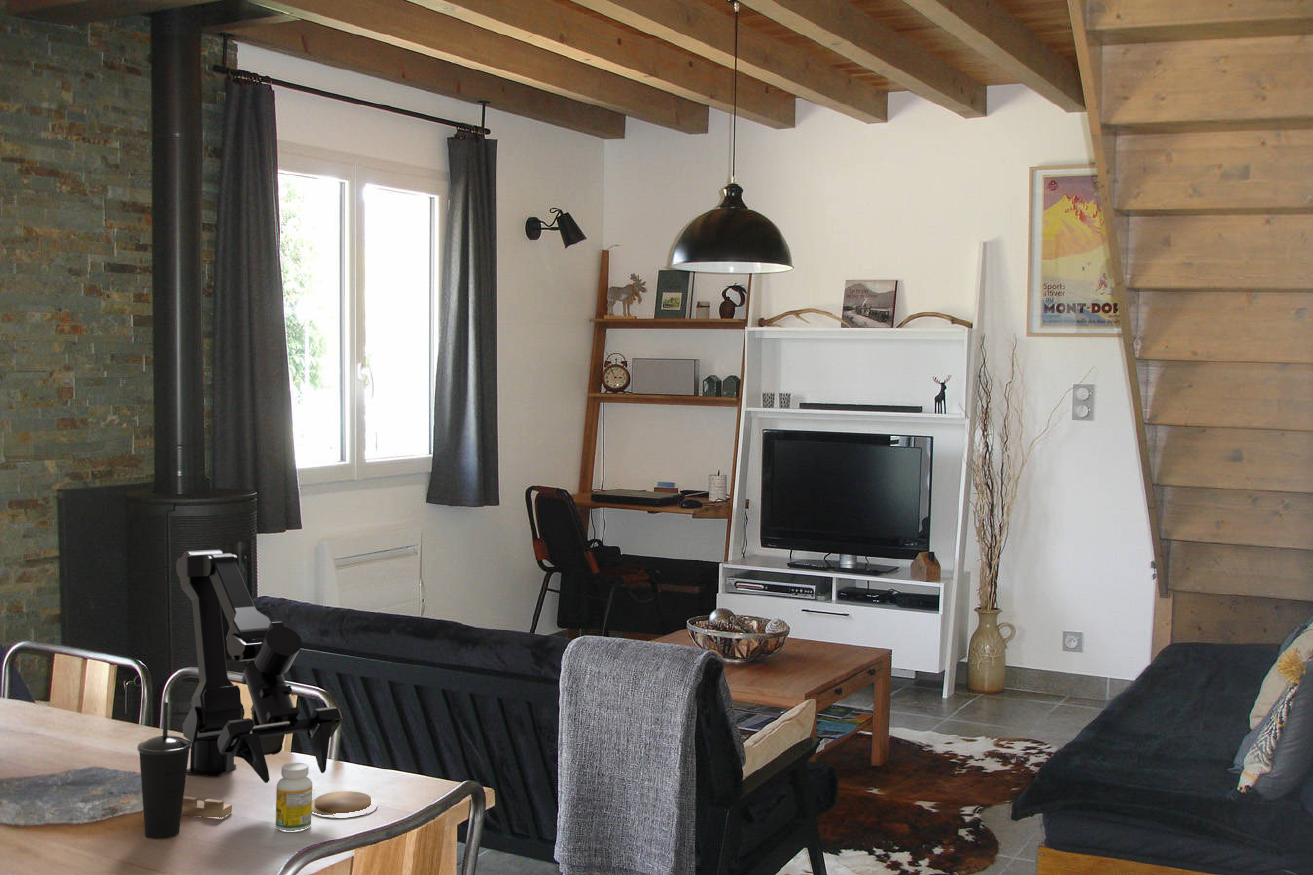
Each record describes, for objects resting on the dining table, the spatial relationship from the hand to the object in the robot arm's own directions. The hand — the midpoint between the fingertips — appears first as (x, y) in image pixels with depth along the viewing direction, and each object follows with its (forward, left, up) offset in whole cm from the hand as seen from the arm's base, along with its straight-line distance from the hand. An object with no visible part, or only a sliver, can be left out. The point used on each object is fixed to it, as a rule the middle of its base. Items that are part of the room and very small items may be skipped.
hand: (296, 776), depth 193 cm
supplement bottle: (0, 0, -8) cm, 8 cm away
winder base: (+3, +11, -8) cm, 14 cm away
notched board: (-16, +1, -8) cm, 18 cm away
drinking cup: (-17, -8, -8) cm, 21 cm away
